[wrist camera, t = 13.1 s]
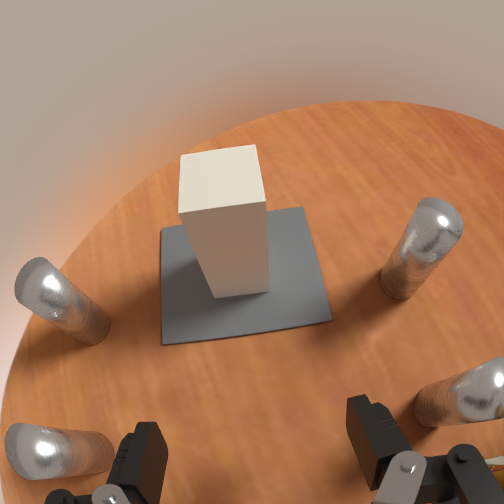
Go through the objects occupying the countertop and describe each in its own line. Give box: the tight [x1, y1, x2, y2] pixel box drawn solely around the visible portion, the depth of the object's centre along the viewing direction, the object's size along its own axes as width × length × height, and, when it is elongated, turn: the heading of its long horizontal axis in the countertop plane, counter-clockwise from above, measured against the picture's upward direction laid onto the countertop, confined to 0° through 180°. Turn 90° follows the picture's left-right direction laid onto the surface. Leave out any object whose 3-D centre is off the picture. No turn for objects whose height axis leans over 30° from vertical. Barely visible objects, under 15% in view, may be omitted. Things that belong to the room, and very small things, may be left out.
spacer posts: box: [5, 197, 504, 480], centre depth 17 cm, size 27×13×8 cm, turn 98°
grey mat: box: [161, 207, 333, 345], centre depth 24 cm, size 12×10×1 cm
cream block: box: [178, 145, 270, 298], centre depth 20 cm, size 4×4×10 cm
